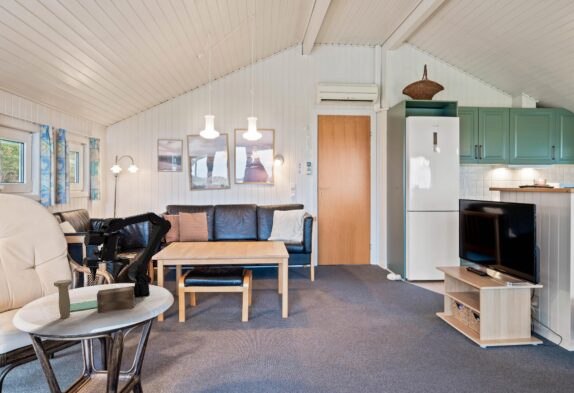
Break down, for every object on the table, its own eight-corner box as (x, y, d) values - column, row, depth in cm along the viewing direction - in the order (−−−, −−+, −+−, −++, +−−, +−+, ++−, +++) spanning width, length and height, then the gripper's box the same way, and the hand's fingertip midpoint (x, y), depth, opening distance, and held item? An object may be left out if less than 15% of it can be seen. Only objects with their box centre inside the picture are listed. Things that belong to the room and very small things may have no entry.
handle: (70, 319, 142) (67, 282, 141) (53, 320, 142) (51, 283, 141) (76, 314, 147) (74, 279, 146) (61, 315, 147) (58, 280, 146)
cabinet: (134, 303, 159) (133, 285, 158) (133, 308, 151) (132, 290, 151) (100, 308, 154) (98, 290, 153) (97, 314, 146) (96, 295, 146)
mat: (100, 300, 163) (100, 299, 163) (97, 308, 154) (97, 306, 154) (66, 305, 158) (65, 304, 158) (60, 313, 149) (60, 312, 149)
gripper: (122, 242, 170) (117, 274, 170) (80, 242, 156) (74, 276, 156) (133, 247, 163) (127, 280, 163) (90, 247, 149) (84, 283, 149)
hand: (104, 280), depth 158 cm, fingers open, 9 cm apart
